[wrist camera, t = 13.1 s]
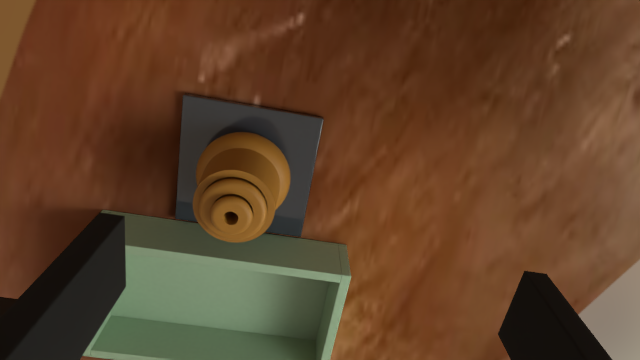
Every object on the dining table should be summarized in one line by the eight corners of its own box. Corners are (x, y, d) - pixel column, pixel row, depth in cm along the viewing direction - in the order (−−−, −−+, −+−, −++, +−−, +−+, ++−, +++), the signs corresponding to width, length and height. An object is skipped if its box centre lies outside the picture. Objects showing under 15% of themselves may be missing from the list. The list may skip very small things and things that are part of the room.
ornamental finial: (307, 185, 38) (234, 225, 39) (258, 111, 35) (181, 156, 36) (307, 234, 30) (217, 281, 32) (245, 145, 28) (149, 201, 29)
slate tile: (323, 116, 36) (323, 119, 35) (300, 233, 40) (300, 237, 40) (184, 92, 35) (182, 94, 34) (176, 215, 39) (174, 219, 39)
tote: (346, 244, 41) (351, 276, 37) (322, 344, 46) (323, 383, 41) (102, 209, 39) (76, 238, 34) (103, 318, 44) (81, 356, 39)
